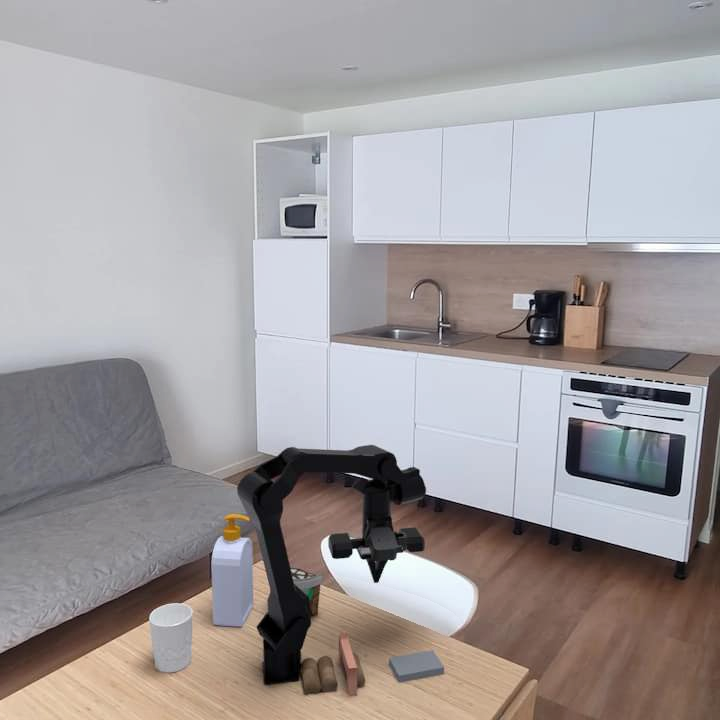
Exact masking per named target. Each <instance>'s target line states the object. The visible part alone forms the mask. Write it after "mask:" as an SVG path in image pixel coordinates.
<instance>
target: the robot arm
mask: <svg viewBox="0 0 720 720" xmlns="http://www.w3.org/2000/svg"><path fill="white" fill-rule="evenodd" d="M420 472H421V470H420V469H419V468H417V467H415V466H411V467H408V468H406V469H401V468H400V467H399V466H398V461H397V458H396V455H395V454H394V453H392V452H390V451H388V450H387V449H383V448H382V447H379V446H377V445H375V444H367V445H361V446H360V445H359V446H357V447H355V448H353V449H347V450H341V449H321V448H320V449H318V448H317V449H315V448H297V447H295V446H291V447H286V448H285V449H283V450H282V451H281V452H279V454H278V455H277V456H274V457H272V458H270V459H269V460H267V461H264V462H263V463H261V464H260V465H259V466H257V467H256V468H255V469H254V470H253V471H251V472H249V473H247V474H246V475H244V476H243V477H242V478H241V479H240V481H239V483H238V484H237V487H236V491H237V495H238V498H239V500H240V502H241V504H242V506H243V508H244V510H245V512H246V513H247V515H248V518H249V519H250V520H251V522H252V524H253V526H254V529H255V533H256V537H257V540H258V545H259V546H258V547H259V549H260V553H261V558H262V562H263V565H264V570H265V573H266V574H265V575H266V578H267V581H268V586H269V595H268V597H267V612H266V613H265V614H264V616H263V618H261V620H260V621H259V622H258V624H257V625H256V630H257V632H258V634H259V636H260V637H261V638H262V657H263V659H262V660H263V661H262V662H261V663H262V675H263V676H262V677H263V683H264V685H268V686H269V685H275V684H276V685H277V684H283V683H291V682H298V681H300V677H301V676H300V673H299V672H302V670H301V663H302V650H303V646H304V643H305V640H306V637H307V633H308V630H309V629H310V628H311V627H312V617H310V616H313V617H315V616H314V614H313V613H312V612H311V609H310V600H309V597H308V596H307V595H306V594H305V593H304V592H303V591H302V590H301V589H300V588H299V587H297V586H296V585H295V584H294V581H293V576H292V572H291V568H292V567H291V565H290V563H291V562H290V560H289V556H288V552H287V547H286V544H285V543H286V542H285V538H284V534H283V530H282V526H281V520H282V516H283V512H284V500H285V499H286V498H287V497H288V496H289V495H290V494H291V493H292V492H293V490H294V489H295V486H296V484H297V483H298V481H299V479H300V478H301V477H302V476H303V475H304V474H305V473H306V474H307V473H311V474H313V473H315V474H354V475H358V476H362V477H360V479H359V480H358V481H357V482H355V484H354V485H352V489H353V490H355V491H357V492H359V493H360V494H362V509H361V515H362V516H361V517H362V519H361V520H362V521H361V522H362V525H361V526H362V527H361V536H362V537H358V538H350V535H349V533H348V532H342V533H340V532H339V533H332V534H330V535H329V537H328V543H327V544H328V545H327V546H328V549H329V552H330V555H331V558H332V559H334V560H338V559H349V558H351V556H352V555H353V553H354V552H353V550H356V552H357V553H358V555H359V558H360V559H361V560H362V561H363V560H365V561H366V562H367V567H368V569H369V571H370V575H371V577H372V580H373V583H374V584H378V583H379V582H380V579H381V577H382V575H383V571H384V569H385V567H386V564H387V563H388V561H390V562H391V561H395V560H396V559H397V554H401V553H404V551H408V552H410V553H418V552H419V553H420V552H424V551H425V546H426V545H425V544H426V543H425V537H424V536H423V535H422V533H421V532H420V530H419V529H418V528H417V527H415V526H414V527H404V528H399V530H398V531H397V530H396V531H395V530H394V527H393V518H392V503H393V504H394V505H397V506H400V505H404V504H408V503H412V502H415V501H419V500H422V499H424V498H425V496H426V494H427V487H426V484H425V481H424V479H423V477H422V476H421V473H420ZM278 476H279V477H278ZM277 477H278V479H276V480H275V481H273V479H274V478H277ZM364 477H365V478H364ZM366 478H368V479H366Z"/></svg>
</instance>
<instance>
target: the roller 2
mask: <svg viewBox="0 0 720 720" xmlns="http://www.w3.org/2000/svg"><path fill="white" fill-rule="evenodd" d="M316 662H317V667H318V673H319V678H320V684H321V689H320V690H322V692H324V693H331V692H335V691H336V690H337V689H338V686H339V685H338V680H337V675H336V671H335V666H334V662H333V659H332V658H331V656H328V655H323V656H320V657H319V658H318V659H317V660H316Z"/></svg>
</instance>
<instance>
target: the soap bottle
mask: <svg viewBox="0 0 720 720" xmlns="http://www.w3.org/2000/svg"><path fill="white" fill-rule="evenodd" d="M222 520H223V522H225V521H227V522H228V525H227V526H224V527H223V528H222V534H223V535H221V536H220V537H219V538H217V540H216V542H215V543H214V547H213V551H212V554H211V563H210V566H211V595H212V596H211V597H212V598H211V599H212V600H211V601H212V624H213V626H223V627H224V626H225V627H235V628H236V627H238V628H242V627H243V626H244V624H245V622H246V620H247V619H248V616H249V614H250V613H251V611H252V609H253V606H254V580H253V579H254V576H253V575H254V574H253V572H254V569H253V568H254V566H253V543H252V540H251V538H249V537H241V527H240V526H238V525H235V524H236V523H235V521H236V520H242V521H244V522H249V521H250V520H251V518H250V517H247V516H245V515H242V514H237V513H231V514H227V515H226V516H225V517H224V518H223V519H222Z"/></svg>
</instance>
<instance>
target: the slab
mask: <svg viewBox="0 0 720 720" xmlns="http://www.w3.org/2000/svg"><path fill="white" fill-rule="evenodd" d="M388 665H389V668H390V669H391V671H392V673H393V674H394V677H395V679H396V681H397V682H398V684H401V683H403V682H404V683H405V682H409V681H413V680H414V681H415V680H416V681H417V680H419V679H425V678H430V677H435V676H436V677H437V676H440V675H445V667H444V665H443V663H442V662H441V660H440V659H439V657H438V656H437V654H436V653H435V652H434V649H431V650H430V649H429V650H425V651H419V652H415V653H407V654H403V655H397V656H391V657H389V659H388Z"/></svg>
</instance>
